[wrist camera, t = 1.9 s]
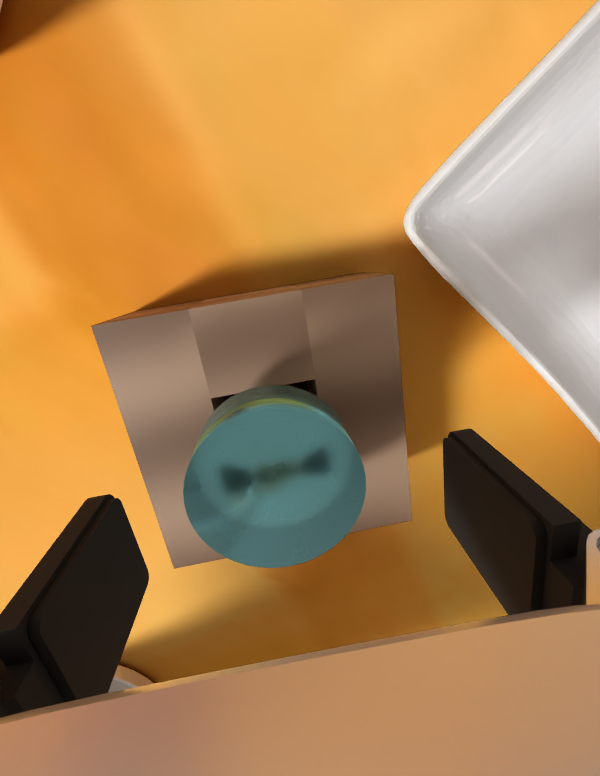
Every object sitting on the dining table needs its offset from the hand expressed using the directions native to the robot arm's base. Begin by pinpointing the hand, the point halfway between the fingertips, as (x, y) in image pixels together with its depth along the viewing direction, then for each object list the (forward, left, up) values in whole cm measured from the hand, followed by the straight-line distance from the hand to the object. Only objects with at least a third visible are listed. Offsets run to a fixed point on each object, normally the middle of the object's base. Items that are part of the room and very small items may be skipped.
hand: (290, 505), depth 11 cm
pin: (-1, 0, -11) cm, 11 cm away
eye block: (-1, 0, -11) cm, 11 cm away
